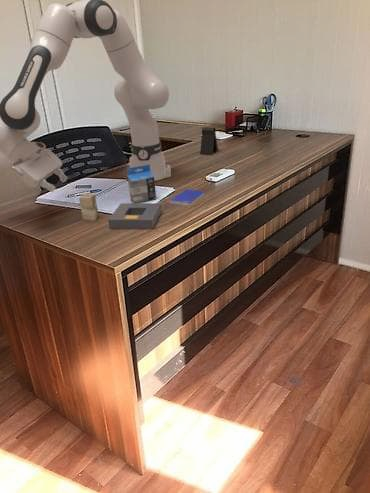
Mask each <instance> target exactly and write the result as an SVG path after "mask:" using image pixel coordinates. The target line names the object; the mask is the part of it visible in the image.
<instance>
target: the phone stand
mask: <svg viewBox="0 0 370 493" xmlns="http://www.w3.org/2000/svg"><path fill="white" fill-rule="evenodd" d="M216 130H217V129H216V128H215V127H205V126H204V127H202V128H201V139H200V140H201V142H200V152H199V155H203V156H204V155H205V156H213V155H214V154H215V153H217V152H218V151H219V146H218V140H217V134H216V132H217V131H216Z"/></svg>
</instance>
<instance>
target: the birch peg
mask: <svg viewBox="0 0 370 493" xmlns="http://www.w3.org/2000/svg"><path fill="white" fill-rule="evenodd" d="M78 200H79V205H80V209H81V216H82V221H84V222H85V221H87V222H88V221H89V222H91V221H96V220H97V219H98V217H99V210H98V203H97V196H96V193H83V194H81V195H80V197H79V198H78Z"/></svg>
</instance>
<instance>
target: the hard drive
mask: <svg viewBox="0 0 370 493" xmlns="http://www.w3.org/2000/svg"><path fill="white" fill-rule="evenodd" d="M205 194H206V192H205V191H203V190H195V189H184V190H182V191H181V192H179V193H177V195H175V196H174V197H172V198H171V199H170V200H169V201H168V203H169V204H175V205H182V206H183V205H184V206H188V207H189V206H191V205H192V204H193V203H195V202H197V201H198V200H199V199H200V198H202V197H203V196H204V195H205Z"/></svg>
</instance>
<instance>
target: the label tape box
mask: <svg viewBox="0 0 370 493" xmlns="http://www.w3.org/2000/svg"><path fill="white" fill-rule="evenodd" d="M138 169H143V170H142V171H136V172H135V170H138ZM126 171H127V172H126V173H127V174H126V175H127V176H126V177H127V184H128V189H129V190H128V191H129V198H130V202H131V203H138V202H139V203H143V201H144V202H148V201H147V200H149V201H152V199H153V200H156V199H157V193H156V183H155V182H156V181H155V180H154V176H153V174H152V173H151V171H150V164H149V165H143V166H137V167H132V168H130V167H127V168H126Z"/></svg>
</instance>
